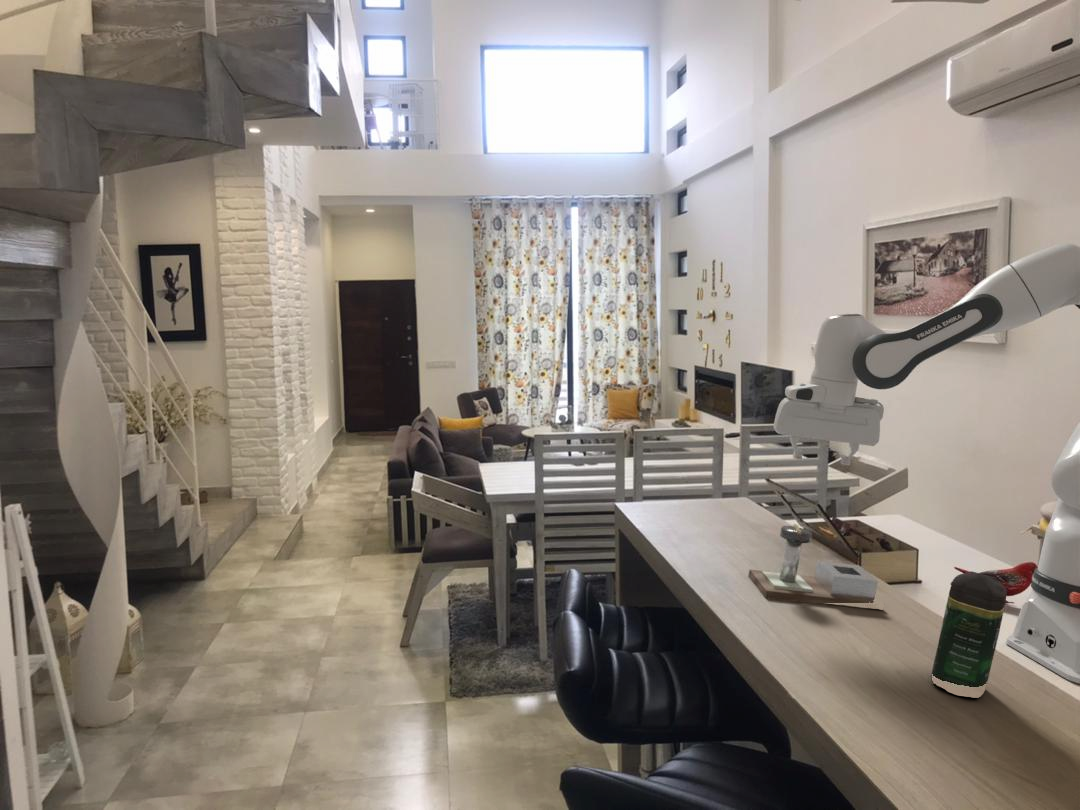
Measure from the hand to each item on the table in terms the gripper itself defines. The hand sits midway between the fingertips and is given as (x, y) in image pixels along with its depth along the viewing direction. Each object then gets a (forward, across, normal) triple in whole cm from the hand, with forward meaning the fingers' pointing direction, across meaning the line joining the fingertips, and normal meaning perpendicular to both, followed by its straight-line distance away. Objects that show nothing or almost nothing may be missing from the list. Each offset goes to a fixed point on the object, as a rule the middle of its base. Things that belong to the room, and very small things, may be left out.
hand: (820, 461), depth 163 cm
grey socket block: (+26, -9, 0) cm, 27 cm away
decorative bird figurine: (+28, -43, -13) cm, 53 cm away
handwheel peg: (+25, +3, +2) cm, 25 cm away
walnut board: (+27, -3, +1) cm, 27 cm away
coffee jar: (+28, -18, +36) cm, 49 cm away
